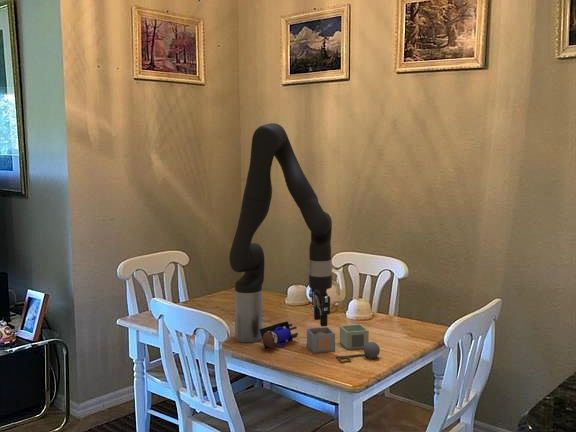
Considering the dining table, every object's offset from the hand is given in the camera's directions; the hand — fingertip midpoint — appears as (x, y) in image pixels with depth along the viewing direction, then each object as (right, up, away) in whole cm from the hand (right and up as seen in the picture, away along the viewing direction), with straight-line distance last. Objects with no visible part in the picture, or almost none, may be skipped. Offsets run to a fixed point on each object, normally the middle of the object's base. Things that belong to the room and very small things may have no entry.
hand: (320, 322), depth 198 cm
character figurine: (-14, -9, +4) cm, 17 cm away
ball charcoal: (+16, -7, -8) cm, 19 cm away
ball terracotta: (0, -6, +1) cm, 6 cm away
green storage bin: (+11, -8, +4) cm, 14 cm away
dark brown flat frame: (+11, -10, -9) cm, 17 cm away
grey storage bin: (0, -9, +1) cm, 9 cm away
